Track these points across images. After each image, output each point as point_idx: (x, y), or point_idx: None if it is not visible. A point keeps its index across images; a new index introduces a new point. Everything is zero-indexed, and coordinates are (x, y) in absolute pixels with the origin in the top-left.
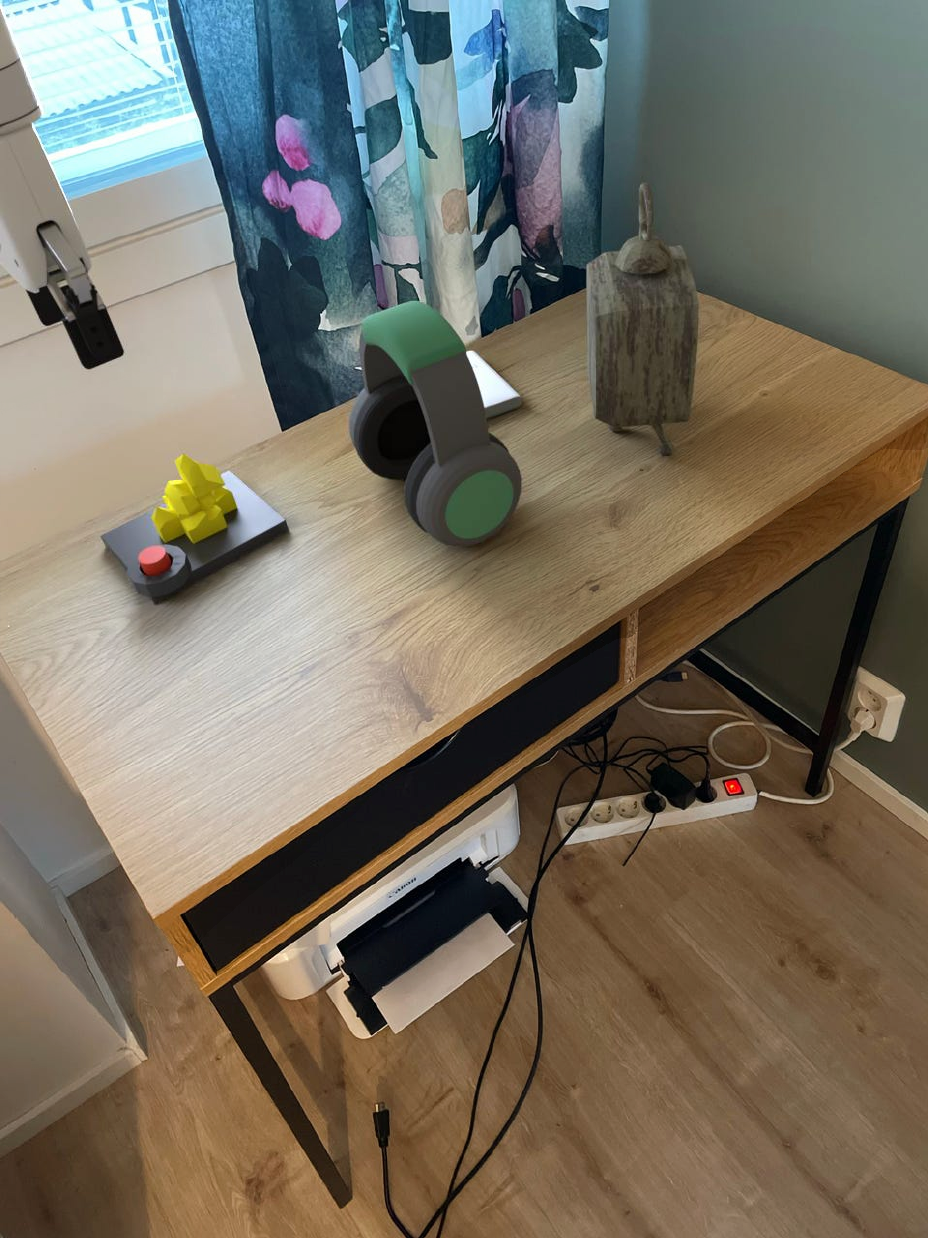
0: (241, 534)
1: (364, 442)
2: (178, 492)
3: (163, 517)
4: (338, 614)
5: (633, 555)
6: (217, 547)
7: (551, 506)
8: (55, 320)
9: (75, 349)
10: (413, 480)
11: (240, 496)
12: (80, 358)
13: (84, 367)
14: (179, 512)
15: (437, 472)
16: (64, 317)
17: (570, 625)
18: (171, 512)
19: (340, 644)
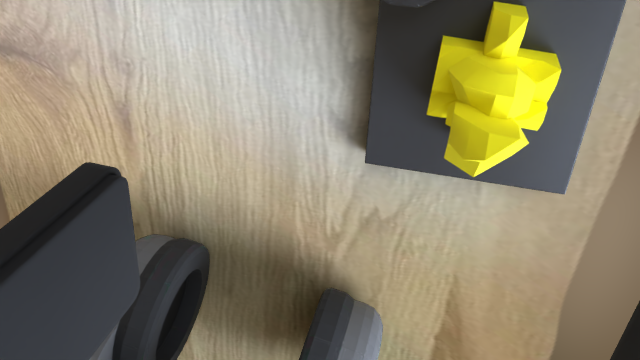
0: (393, 101)
1: (311, 324)
2: (474, 89)
3: (495, 33)
4: (172, 82)
5: None
6: (398, 56)
7: None
8: (634, 327)
9: (48, 205)
10: (143, 291)
11: None
12: (58, 183)
13: (89, 162)
14: (465, 60)
15: None
16: (612, 357)
17: (19, 213)
18: (491, 51)
19: (124, 48)
